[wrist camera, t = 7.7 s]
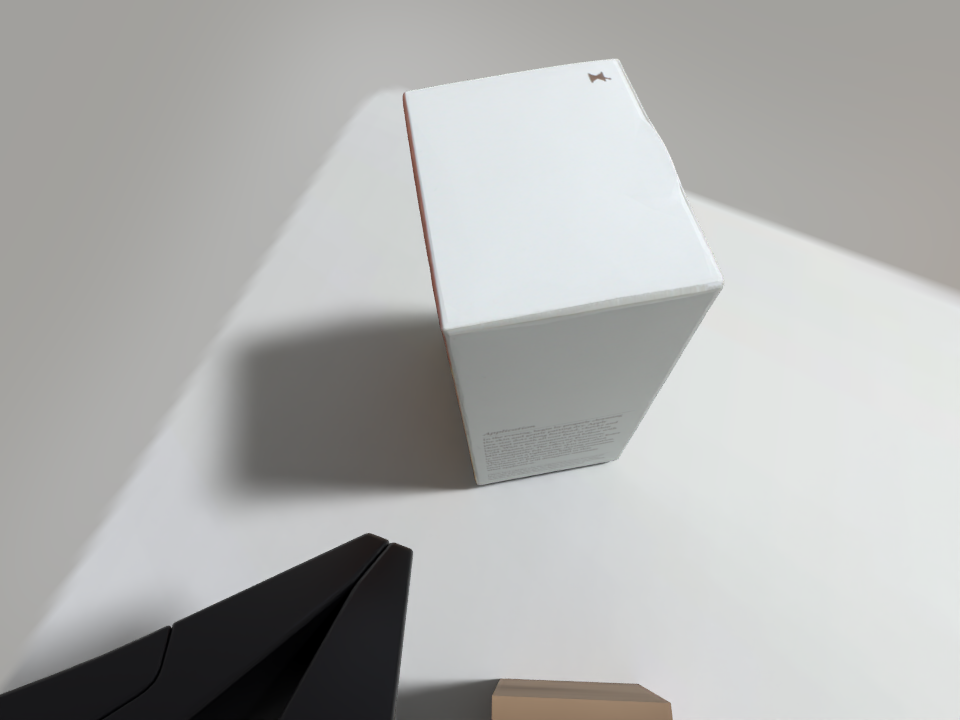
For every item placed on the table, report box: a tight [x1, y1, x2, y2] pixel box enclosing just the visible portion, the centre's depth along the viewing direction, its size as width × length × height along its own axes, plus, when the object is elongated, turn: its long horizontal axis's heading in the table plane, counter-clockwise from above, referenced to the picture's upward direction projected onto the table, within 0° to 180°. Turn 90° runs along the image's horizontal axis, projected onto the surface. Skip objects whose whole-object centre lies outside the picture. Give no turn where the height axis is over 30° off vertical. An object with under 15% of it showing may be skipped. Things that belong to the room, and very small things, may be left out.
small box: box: [403, 59, 724, 485], centre depth 19 cm, size 8×6×13 cm
